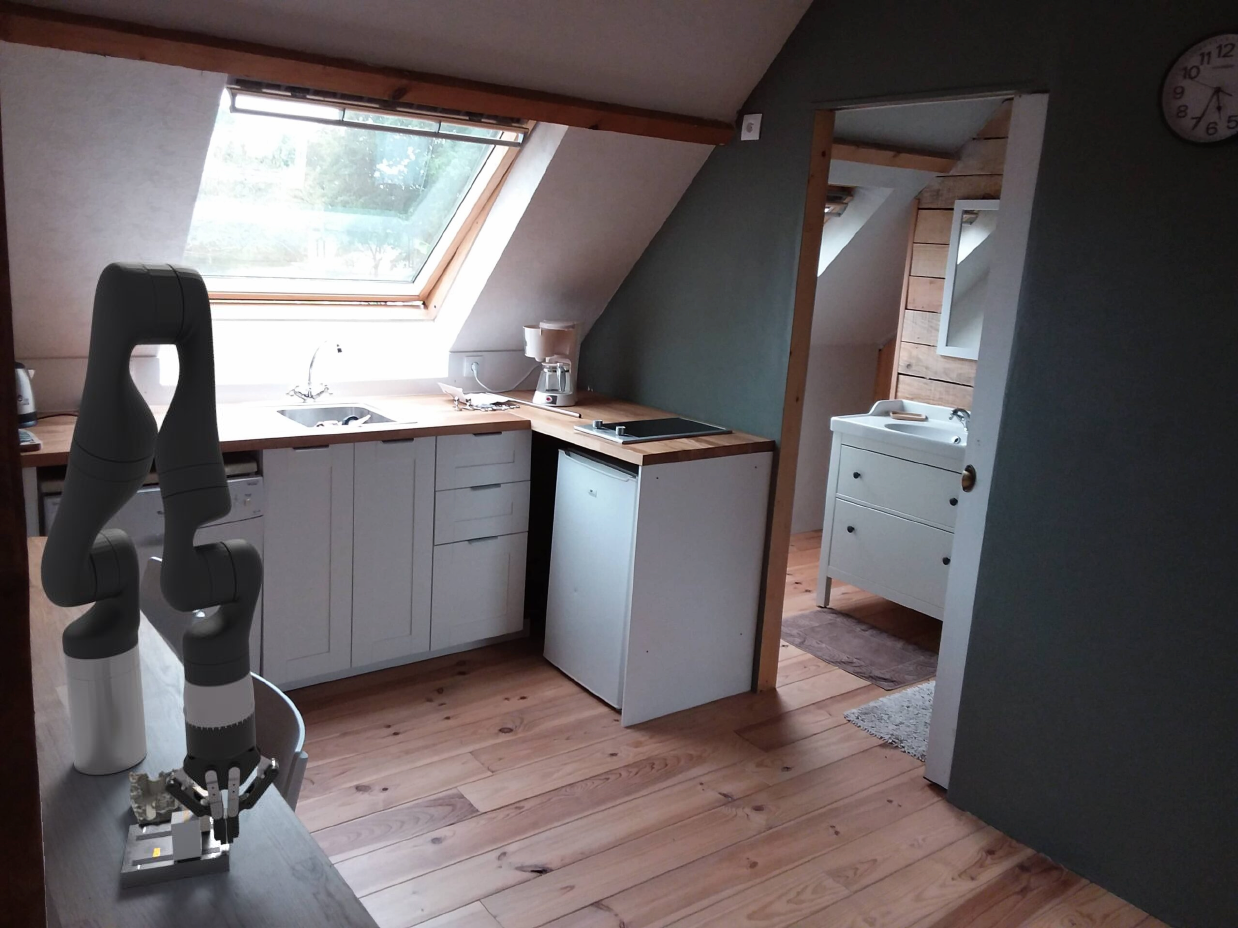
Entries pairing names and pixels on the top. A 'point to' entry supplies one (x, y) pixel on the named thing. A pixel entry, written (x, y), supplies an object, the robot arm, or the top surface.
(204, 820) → the ivory cap
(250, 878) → the top surface
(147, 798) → the egg carton
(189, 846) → the slate fader cap
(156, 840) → the fader console
